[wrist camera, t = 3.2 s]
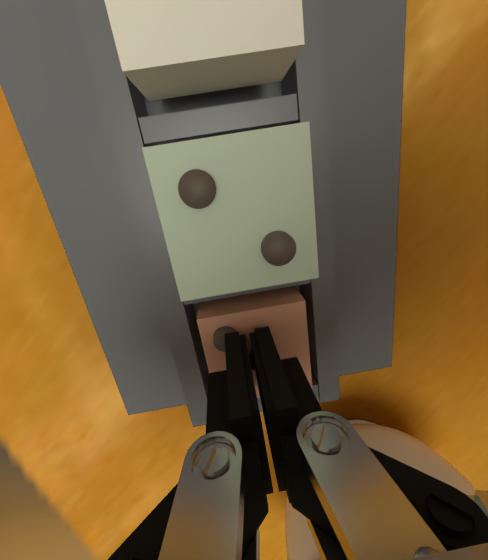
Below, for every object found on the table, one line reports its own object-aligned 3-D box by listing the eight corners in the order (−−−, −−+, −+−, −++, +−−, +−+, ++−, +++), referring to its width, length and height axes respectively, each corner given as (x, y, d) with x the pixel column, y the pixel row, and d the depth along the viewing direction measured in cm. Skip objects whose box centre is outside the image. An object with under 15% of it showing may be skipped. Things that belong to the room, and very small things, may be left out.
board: (384, -112, 10) (470, -263, 6) (376, 350, 16) (416, 393, 13) (-27, -57, 9) (-163, -189, 6) (136, 394, 16) (114, 450, 12)
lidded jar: (381, 359, 16) (567, 565, 8) (444, 457, 20) (622, 677, 11) (235, 448, 18) (252, 708, 9) (318, 526, 21) (388, 768, 13)
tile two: (286, 136, 9) (312, 118, 6) (296, 256, 10) (322, 281, 8) (161, 156, 9) (138, 146, 6) (189, 274, 10) (179, 306, 8)
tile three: (289, 278, 12) (307, 304, 10) (296, 353, 14) (314, 392, 11) (200, 294, 12) (195, 323, 10) (217, 368, 14) (216, 411, 11)
